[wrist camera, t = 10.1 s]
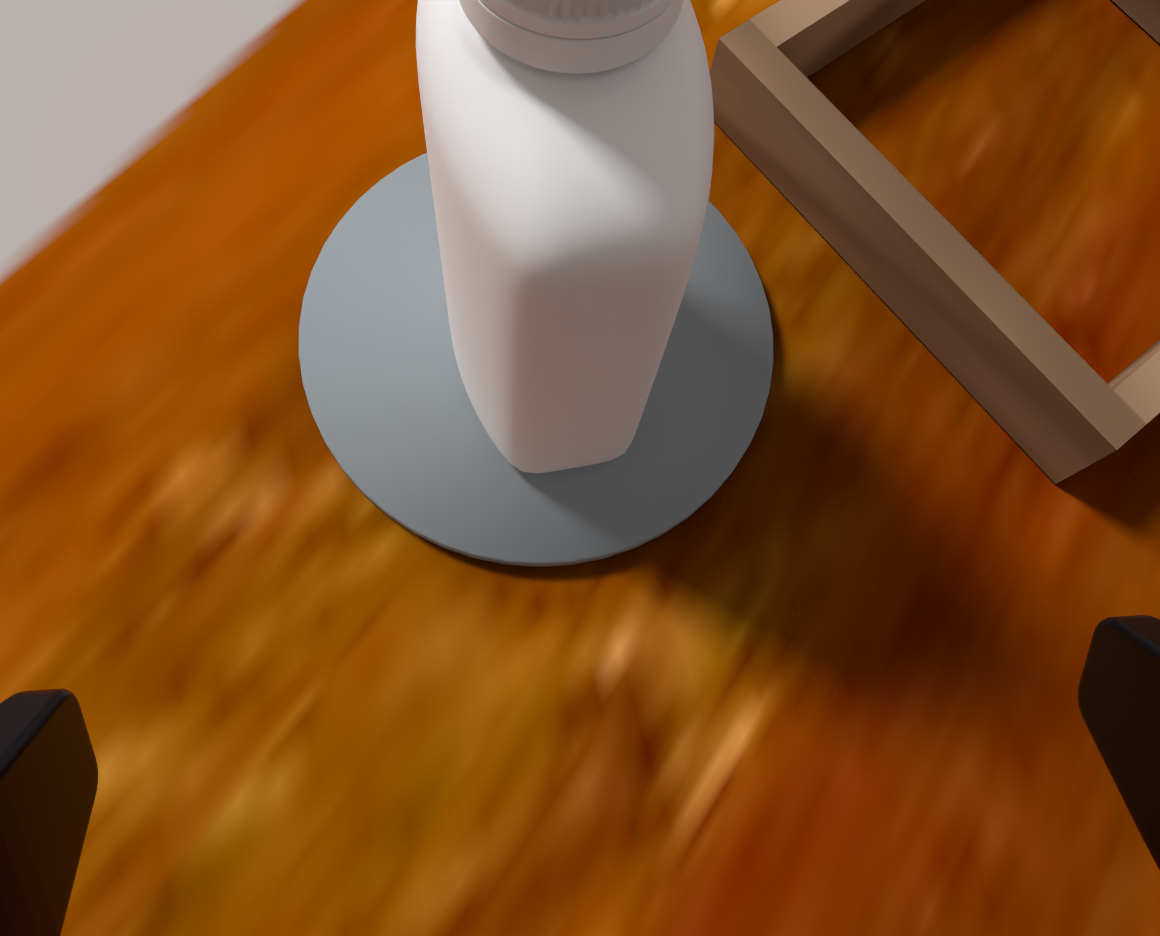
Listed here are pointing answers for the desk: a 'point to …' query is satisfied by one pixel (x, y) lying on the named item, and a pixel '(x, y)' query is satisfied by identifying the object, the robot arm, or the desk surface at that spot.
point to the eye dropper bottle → (564, 207)
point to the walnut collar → (918, 236)
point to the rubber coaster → (452, 428)
